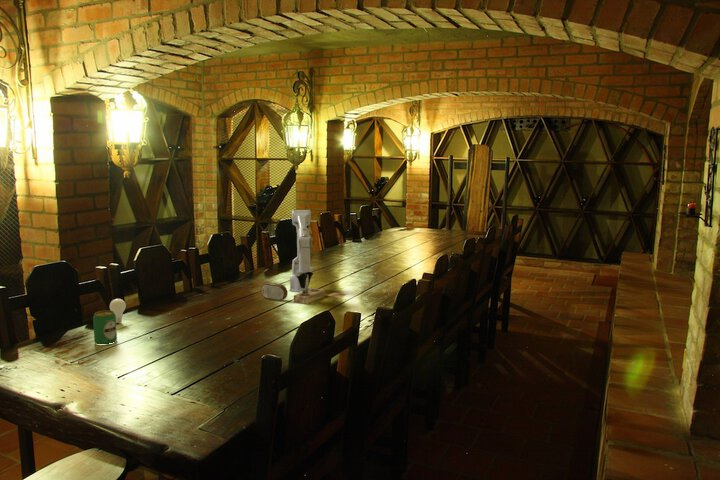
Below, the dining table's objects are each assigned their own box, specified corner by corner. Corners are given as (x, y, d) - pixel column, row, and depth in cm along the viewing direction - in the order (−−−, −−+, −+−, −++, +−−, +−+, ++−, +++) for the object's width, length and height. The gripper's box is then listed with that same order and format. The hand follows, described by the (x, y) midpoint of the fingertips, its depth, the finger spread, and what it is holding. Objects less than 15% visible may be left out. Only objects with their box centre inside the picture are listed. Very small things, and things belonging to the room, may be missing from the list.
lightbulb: (111, 326, 234) (109, 301, 232) (110, 322, 239) (108, 297, 238) (127, 324, 237) (125, 299, 235) (126, 320, 242) (124, 296, 240)
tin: (287, 300, 279) (287, 284, 278) (284, 302, 276) (284, 285, 275) (263, 296, 285) (263, 281, 284) (259, 298, 282) (259, 282, 281)
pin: (301, 293, 275) (301, 275, 274) (303, 292, 278) (303, 273, 277) (307, 293, 275) (307, 275, 273) (309, 292, 277) (309, 274, 276)
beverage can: (102, 347, 209) (100, 317, 207) (90, 343, 213) (88, 313, 212) (121, 341, 216) (119, 312, 214) (109, 337, 220) (107, 308, 218)
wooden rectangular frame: (293, 302, 275) (293, 295, 275) (311, 294, 291) (312, 287, 291) (307, 304, 272) (307, 297, 271) (325, 296, 288) (325, 289, 287)
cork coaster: (326, 296, 288) (326, 295, 288) (334, 293, 295) (334, 292, 295) (340, 298, 284) (340, 297, 284) (347, 294, 291) (347, 294, 291)
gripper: (303, 264, 266) (303, 291, 268) (318, 259, 279) (318, 285, 281) (291, 262, 269) (291, 289, 271) (306, 257, 282) (306, 283, 284)
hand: (304, 287), depth 276 cm, fingers closed on pin, 3 cm apart
